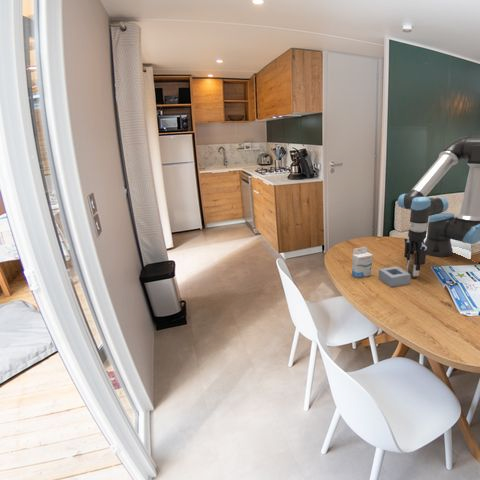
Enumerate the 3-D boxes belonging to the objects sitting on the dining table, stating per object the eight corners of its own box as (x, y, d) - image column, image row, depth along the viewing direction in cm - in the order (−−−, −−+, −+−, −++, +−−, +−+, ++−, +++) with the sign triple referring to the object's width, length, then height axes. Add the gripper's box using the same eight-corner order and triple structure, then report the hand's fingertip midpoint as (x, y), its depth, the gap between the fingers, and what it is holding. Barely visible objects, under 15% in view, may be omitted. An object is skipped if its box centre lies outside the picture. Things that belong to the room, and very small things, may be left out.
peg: (412, 274, 154) (415, 252, 150) (418, 277, 150) (421, 255, 146) (405, 275, 153) (408, 253, 149) (411, 278, 149) (413, 256, 145)
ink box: (356, 278, 155) (358, 252, 150) (351, 274, 159) (352, 248, 155) (371, 275, 156) (373, 249, 152) (365, 271, 161) (367, 246, 156)
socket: (396, 274, 155) (397, 266, 153) (409, 283, 145) (410, 274, 144) (378, 277, 153) (379, 269, 152) (390, 287, 144) (391, 277, 142)
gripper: (398, 226, 151) (394, 268, 158) (423, 236, 135) (417, 282, 143) (412, 224, 151) (407, 266, 159) (438, 234, 136) (431, 280, 144)
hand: (412, 273), depth 151 cm, fingers closed on peg, 4 cm apart
